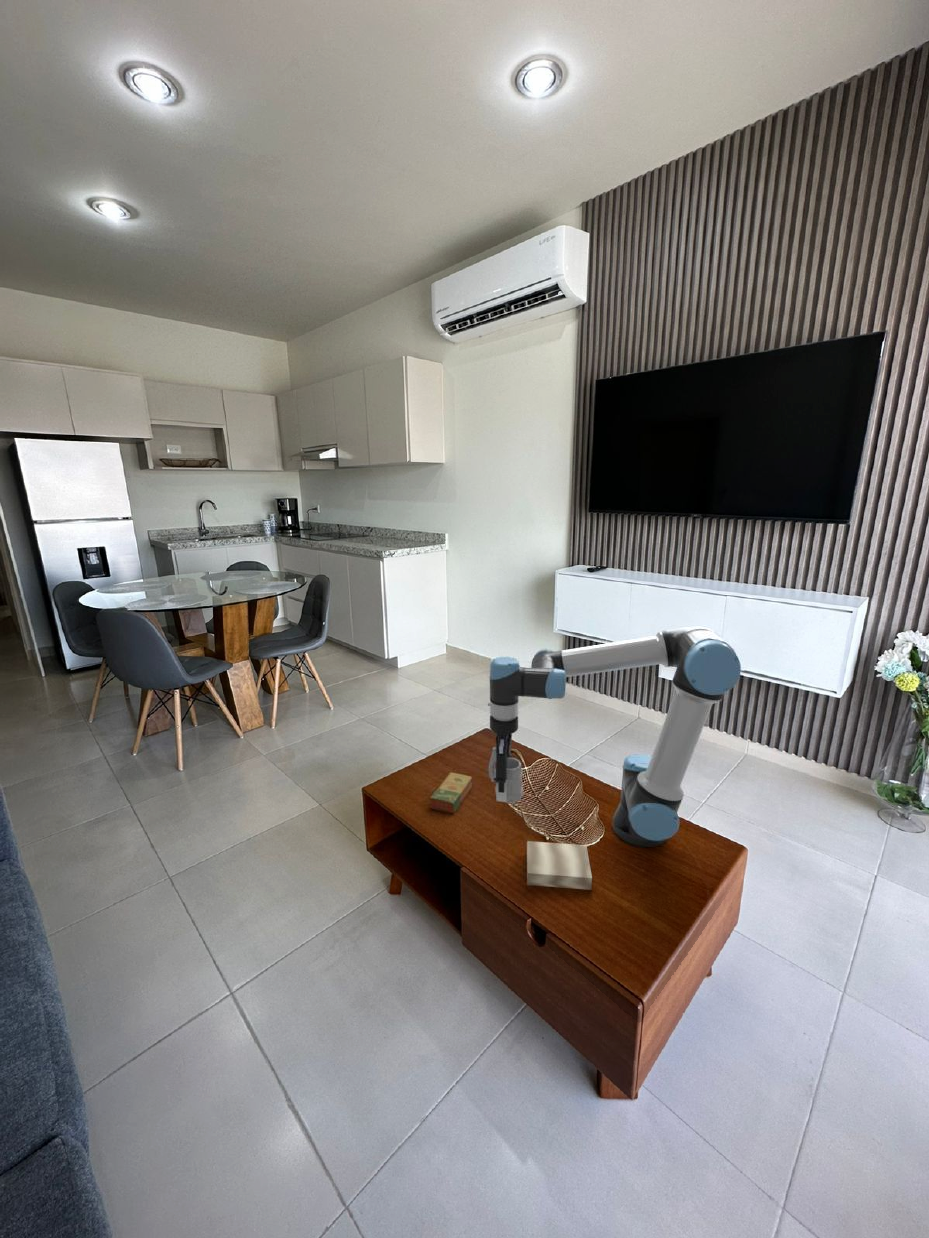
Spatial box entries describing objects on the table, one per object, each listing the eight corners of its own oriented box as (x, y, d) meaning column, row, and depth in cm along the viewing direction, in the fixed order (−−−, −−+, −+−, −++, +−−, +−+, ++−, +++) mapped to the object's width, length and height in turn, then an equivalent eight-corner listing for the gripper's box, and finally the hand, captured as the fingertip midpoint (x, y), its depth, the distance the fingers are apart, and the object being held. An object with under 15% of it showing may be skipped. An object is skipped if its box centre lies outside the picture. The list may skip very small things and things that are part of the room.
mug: (508, 807, 134) (509, 767, 131) (479, 787, 143) (479, 749, 140) (529, 796, 139) (529, 757, 136) (499, 777, 148) (499, 740, 145)
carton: (472, 787, 172) (472, 776, 171) (454, 814, 158) (453, 802, 157) (450, 782, 175) (449, 771, 174) (429, 808, 161) (429, 797, 160)
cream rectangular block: (585, 857, 139) (586, 845, 138) (591, 891, 128) (591, 877, 127) (526, 853, 141) (527, 841, 140) (527, 886, 130) (527, 872, 129)
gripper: (494, 698, 145) (494, 769, 151) (484, 732, 125) (484, 813, 131) (521, 700, 144) (520, 771, 149) (514, 734, 124) (513, 816, 129)
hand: (503, 790), depth 140 cm, fingers closed on mug, 8 cm apart
